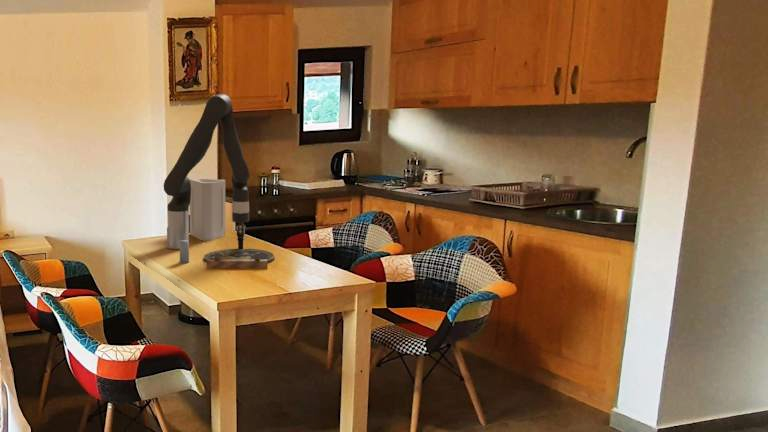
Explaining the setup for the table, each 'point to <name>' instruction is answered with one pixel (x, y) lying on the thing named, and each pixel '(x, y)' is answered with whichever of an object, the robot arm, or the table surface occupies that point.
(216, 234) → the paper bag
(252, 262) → the bench stop
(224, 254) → the decorative plate
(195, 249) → the table surface
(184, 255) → the dowel
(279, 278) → the table surface
